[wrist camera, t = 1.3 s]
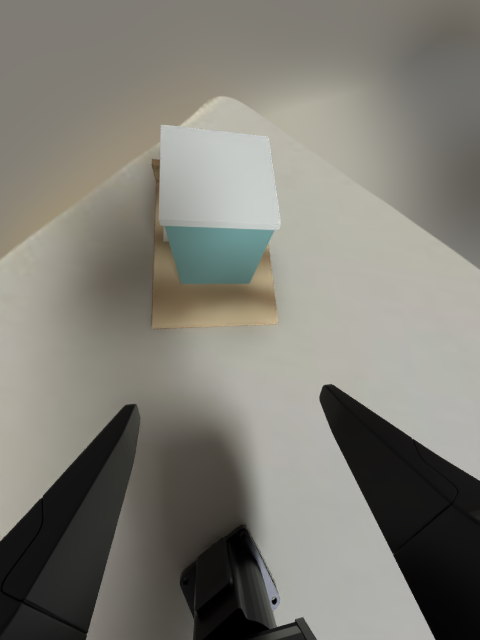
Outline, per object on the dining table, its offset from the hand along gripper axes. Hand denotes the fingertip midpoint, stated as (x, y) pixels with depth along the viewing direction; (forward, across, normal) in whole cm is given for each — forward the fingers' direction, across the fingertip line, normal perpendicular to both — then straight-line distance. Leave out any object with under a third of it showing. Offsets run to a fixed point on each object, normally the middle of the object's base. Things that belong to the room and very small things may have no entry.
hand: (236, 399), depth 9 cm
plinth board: (+21, 0, -3) cm, 21 cm away
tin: (+20, 0, -2) cm, 20 cm away
